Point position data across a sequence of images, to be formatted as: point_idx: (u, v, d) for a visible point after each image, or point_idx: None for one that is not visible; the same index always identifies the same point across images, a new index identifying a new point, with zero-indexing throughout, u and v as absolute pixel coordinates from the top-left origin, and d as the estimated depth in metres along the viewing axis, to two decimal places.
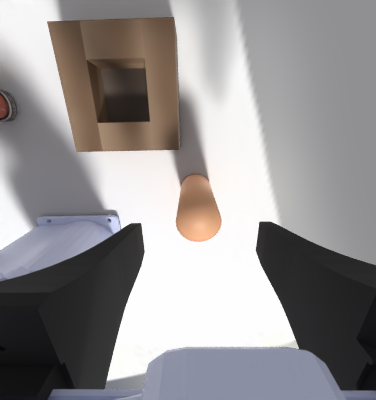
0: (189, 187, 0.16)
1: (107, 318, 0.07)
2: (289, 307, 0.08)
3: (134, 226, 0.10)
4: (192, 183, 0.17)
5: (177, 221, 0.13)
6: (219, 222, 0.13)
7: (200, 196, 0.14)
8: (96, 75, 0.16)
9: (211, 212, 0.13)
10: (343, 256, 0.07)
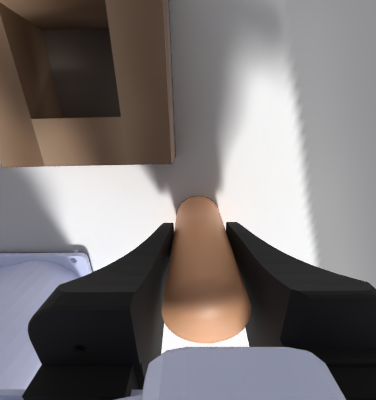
0: (188, 227, 0.10)
1: (158, 318, 0.07)
2: None
3: (169, 226, 0.10)
4: (193, 218, 0.10)
5: (164, 311, 0.07)
6: (247, 314, 0.07)
7: (208, 258, 0.07)
8: (29, 36, 0.09)
9: (232, 297, 0.06)
10: (290, 256, 0.07)
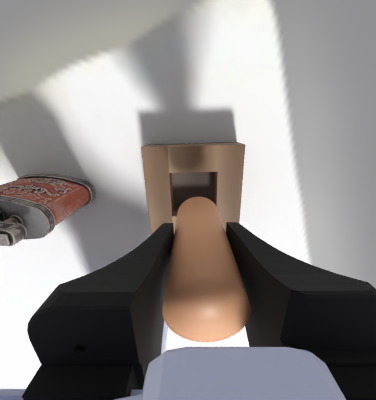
0: (186, 229, 0.10)
1: (158, 318, 0.07)
2: None
3: (169, 226, 0.10)
4: (192, 219, 0.10)
5: (165, 312, 0.07)
6: (247, 311, 0.07)
7: (205, 258, 0.07)
8: (171, 176, 0.19)
9: (230, 295, 0.07)
10: (290, 256, 0.07)
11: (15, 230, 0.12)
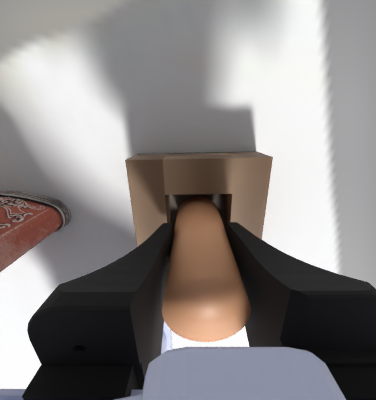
0: (186, 228, 0.10)
1: (158, 318, 0.07)
2: None
3: (169, 226, 0.10)
4: (191, 219, 0.10)
5: (165, 312, 0.07)
6: (247, 311, 0.07)
7: (206, 257, 0.07)
8: (167, 197, 0.14)
9: (230, 295, 0.07)
10: (290, 256, 0.07)
11: None
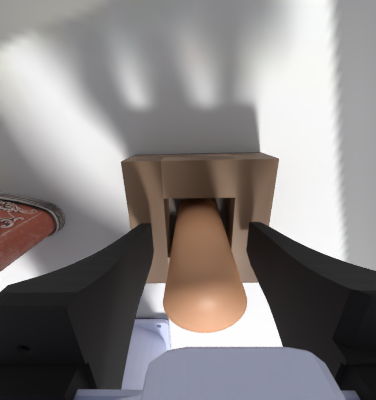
0: (186, 226, 0.10)
1: (123, 318, 0.07)
2: (275, 307, 0.08)
3: (145, 226, 0.10)
4: (191, 216, 0.11)
5: (166, 304, 0.07)
6: (243, 303, 0.07)
7: (204, 253, 0.08)
8: (166, 200, 0.13)
9: (227, 288, 0.07)
10: (326, 256, 0.07)
11: None
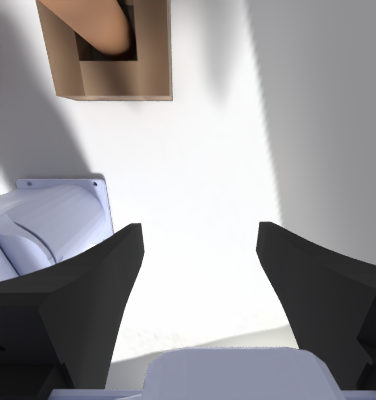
0: None
1: (107, 318, 0.07)
2: (289, 307, 0.08)
3: (134, 226, 0.10)
4: None
5: None
6: None
7: None
8: None
9: None
10: (343, 256, 0.07)
11: None
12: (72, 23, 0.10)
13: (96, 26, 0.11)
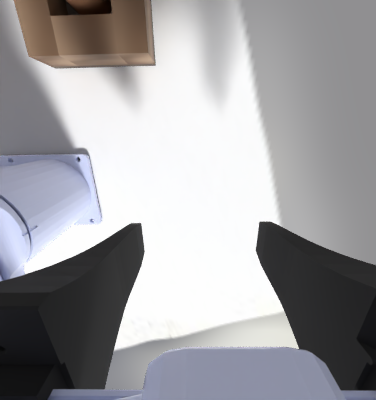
0: None
1: (107, 318, 0.07)
2: (289, 307, 0.08)
3: (134, 226, 0.10)
4: None
5: None
6: None
7: None
8: None
9: None
10: (343, 256, 0.07)
11: None
12: None
13: None
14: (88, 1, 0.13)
